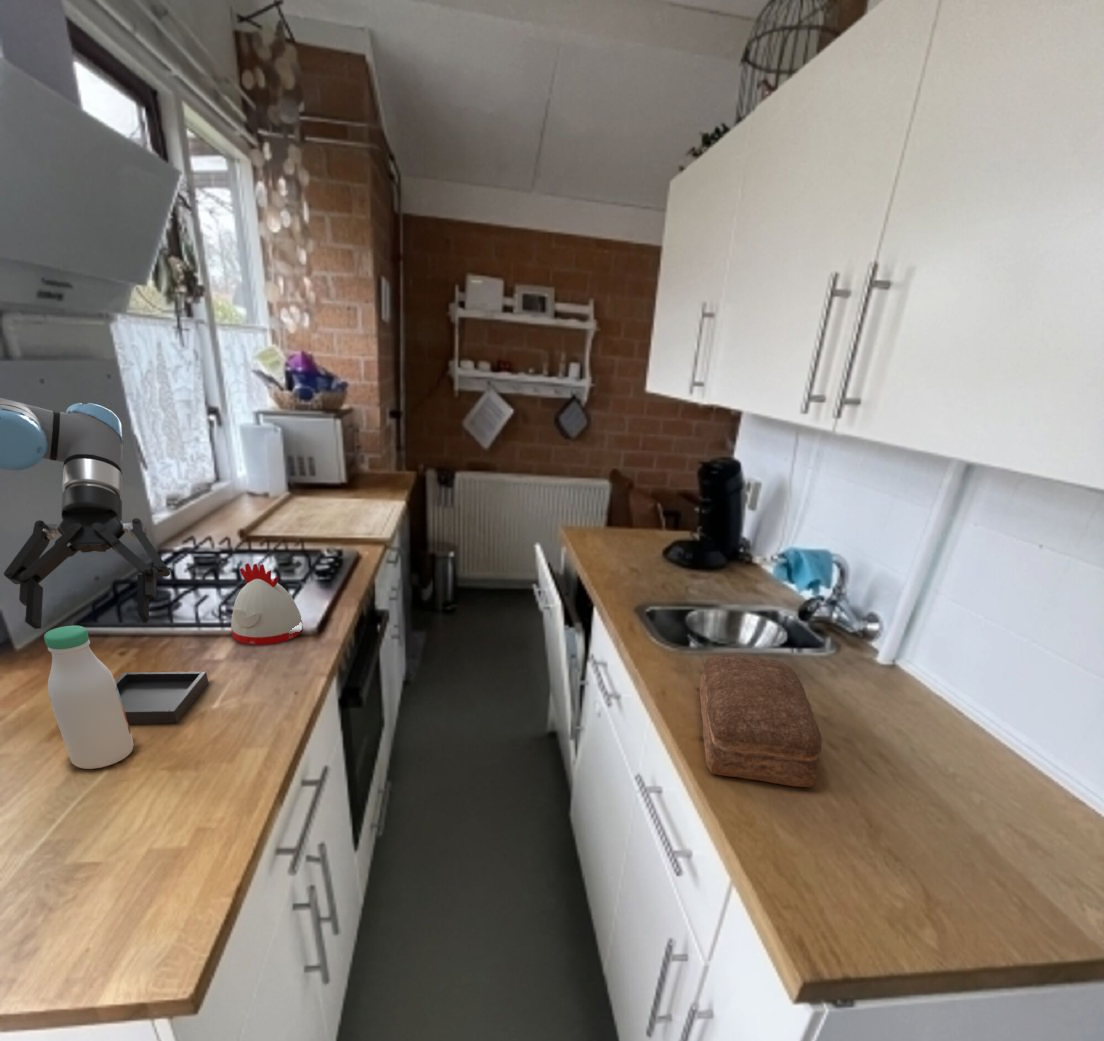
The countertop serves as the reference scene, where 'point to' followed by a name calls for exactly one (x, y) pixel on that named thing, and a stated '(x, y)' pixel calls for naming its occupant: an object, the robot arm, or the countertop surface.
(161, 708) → the dock tray
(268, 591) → the kitchen timer
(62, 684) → the milk bottle
